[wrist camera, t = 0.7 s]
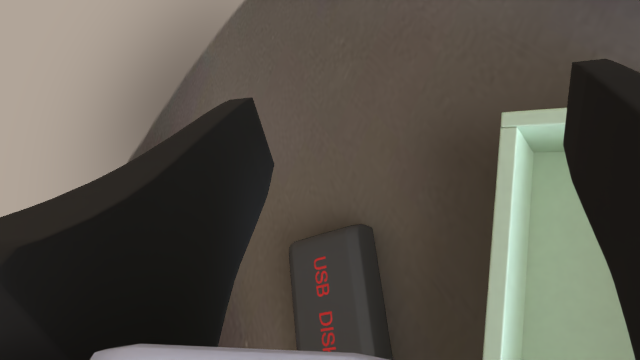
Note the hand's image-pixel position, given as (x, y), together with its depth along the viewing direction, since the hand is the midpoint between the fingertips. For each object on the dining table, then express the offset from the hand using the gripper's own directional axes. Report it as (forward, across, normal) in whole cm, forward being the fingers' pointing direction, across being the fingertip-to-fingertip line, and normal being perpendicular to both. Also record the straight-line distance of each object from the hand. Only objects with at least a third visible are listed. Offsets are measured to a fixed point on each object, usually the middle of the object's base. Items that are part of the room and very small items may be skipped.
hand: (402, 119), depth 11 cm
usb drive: (+7, +5, +19) cm, 21 cm away
